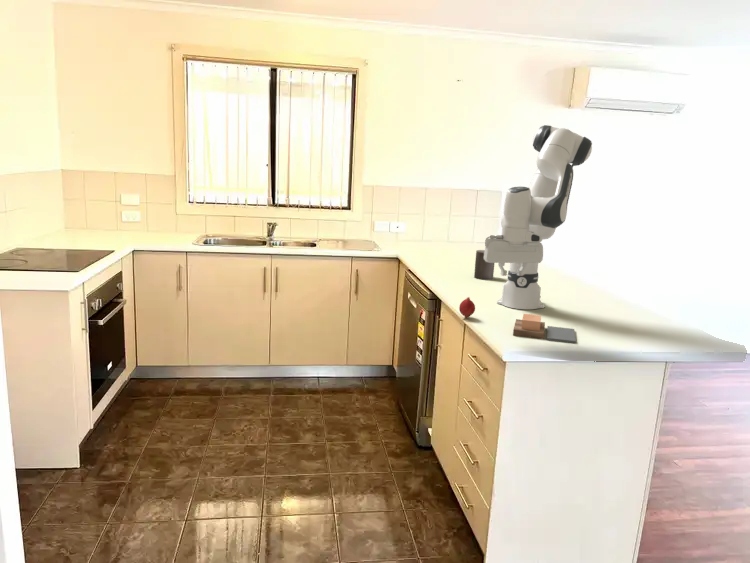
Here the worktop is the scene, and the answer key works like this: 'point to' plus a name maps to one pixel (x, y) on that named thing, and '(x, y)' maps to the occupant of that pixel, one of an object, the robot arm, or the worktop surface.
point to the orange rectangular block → (531, 322)
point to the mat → (561, 334)
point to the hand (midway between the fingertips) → (511, 275)
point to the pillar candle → (483, 267)
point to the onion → (467, 307)
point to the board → (528, 330)
